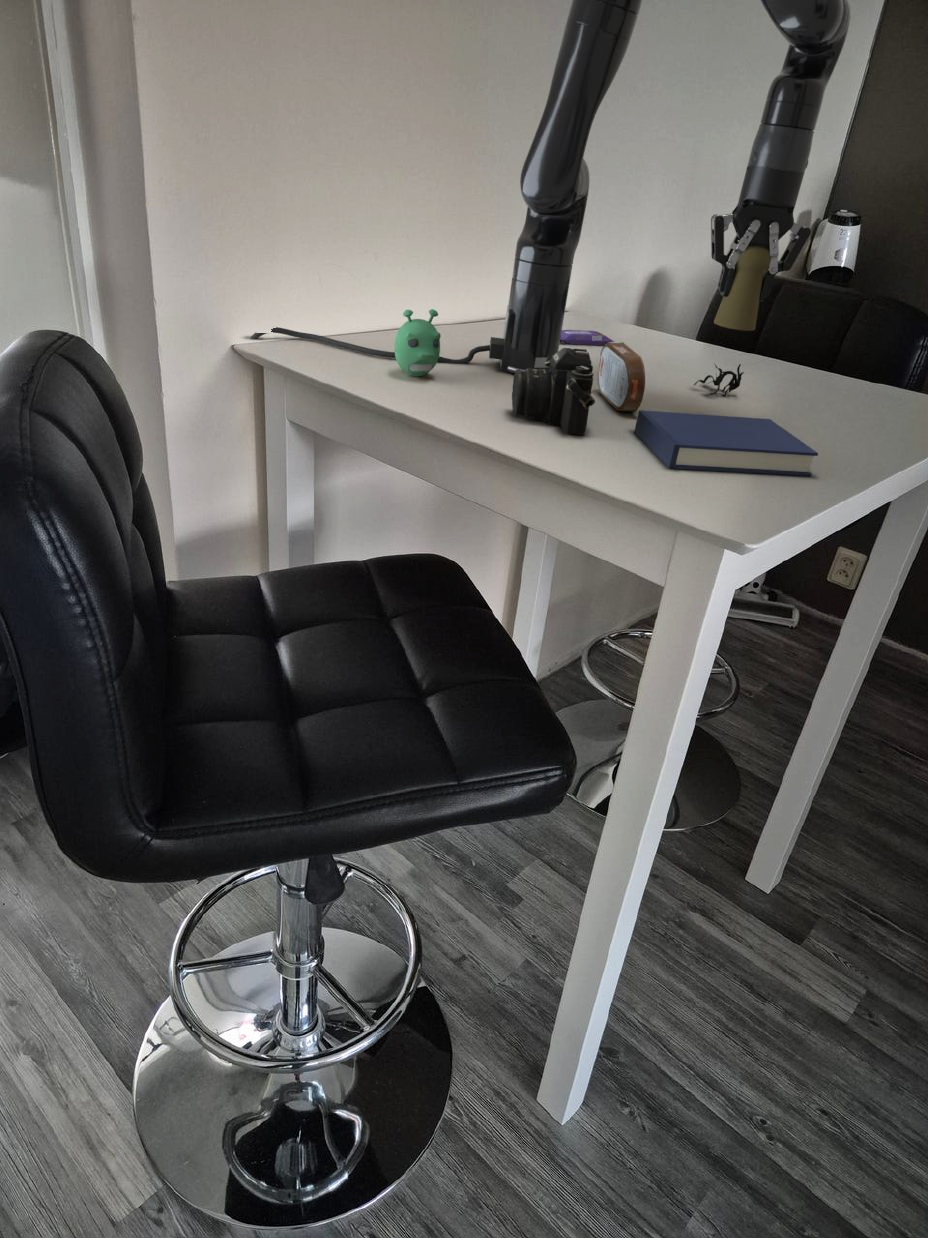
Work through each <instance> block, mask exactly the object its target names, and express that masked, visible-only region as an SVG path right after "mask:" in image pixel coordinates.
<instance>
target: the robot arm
mask: <svg viewBox="0 0 928 1238" xmlns="http://www.w3.org/2000/svg"><path fill="white" fill-rule="evenodd" d="M759 1H760V3H761V5H762V7H763V9H764V10H765V12H766V13H767V15H768V17H769V19H770V20H771V22H772V23H773V24H774V26H775V28H776V29H777V31H778V32H779V33H780V34H781V36H782V37H783V39H784V40H785V41H786V42H787V43H788V44H789V45H788V48H787V52H786V54H785V58H784V61H783V64H782V68H781V71H780V72H779V74H778V75H776V76H775V77H774V78H773V80H772V81H771V84H770V86H769V89H768V91H767V94H766V99H765V102H764V106H763V110H762V113H761V118H760V122H759V125H758V129H757V131H756V134H755V137H754V138H753V142H752V146H751V149H750V153H749V159H748V162H747V165H746V170H745V173H744V178H743V182H742V185H741V189H740V193H739V197H738V201H737V205H736V206H735V208H734V209H733V210H732V211H731V213H726V214H725V213H724V214H717V213H716V214H713V215H712V216H711V218H710V246H711V247H710V251H711V252H710V255H711V259H712V260H714V261H715V262H717V263H719V264H720V265H721V271H720V275H719V280H718V283H717V290H718V291H719V292H720V293H719V295H720V296H721V297H723V296H724V297H728V295H729V292H730V288H731V284H732V281H733V277H734V273H735V270H734V268H735V267H734V266H735V264H736V263H737V261H738V257H739V255H740V254H742V253H744V251H745V250H746V248H747V246H760V247H763V248H767V249H769V254H770V257H771V262H770V265H769V267H768V268H767V269H766V270H765V271H764V272H763V279H762V286H761V292H760V298H759V302H764V301H765V298H768V297H769V296H770V294H771V291H772V287H773V285H774V280H775V277H776V275H777V274H778V273H782V272H788V271H790V270H791V269H792V267H793V266H794V264H795V262H796V260H797V258H798V257H799V255H800V253H801V252H802V249H803V248H804V246H805V244H806V243H807V241H808V239H809V237H810V236H811V234H812V230H811V228H810V227H808V226H805V225H800V224H798V223H796V222H795V217H794V210H795V208H796V204H797V201H798V198H799V195H800V190H801V187H802V183H803V180H804V176H805V173H806V169H808V165H809V158H810V155H811V151H812V145H813V138H814V133H815V130H816V127H817V123H818V119H819V116H820V112H821V109H822V105H823V102H824V101H823V100H824V96H825V91H826V89H827V86H828V84H829V82H830V80H831V77H832V75H833V73H834V71H835V68H836V67H837V64H838V61H839V58H840V55H841V53H842V50H843V48H844V45H845V43H846V39H847V36H848V32H849V28H850V25H851V14H852V13H851V5H850V2H849V0H759ZM642 2H643V0H572V1H571V5H570V8H569V11H568V15H567V17H566V18H567V19H566V22H565V26H564V29H563V34H562V39H561V42H560V46H559V50H558V53H557V58H556V62H555V66H554V69H553V74H552V77H551V83H550V87H549V90H548V91H549V92H548V95H547V99H546V103H545V107H544V109H543V112H542V115H541V118H540V120H539V122H538V126H537V128H536V131H535V134H534V136H533V139H532V142H531V144H530V147H529V150H528V152H527V155H526V157H525V159H524V162H523V165H522V168H521V172H520V177H519V187H520V194H521V197H522V199H523V201H524V203H525V205H526V206H527V208H526V215H525V220H524V225H523V228H522V229H521V230H522V231H521V233H520V234H519V237H518V238H517V240H516V246H515V251H514V252H515V253H514V260H513V268H512V274H511V283H510V290H509V299H508V304H507V306H506V313H505V322H504V329H503V336H502V337H493V336H490V340H489V341H490V342H489V344H488V345H487V344H486V345H480V346H479V345H478V346H476V347H473V348H471V350H470V351H469V352H468V354H467V356H466V357H464V358H460V359H453V358H448V357H443V356H440V355H439V358H438V361H437V363H440V364H441V363H442V364H455V365H465V364H468V363H470V362H472V361H473V359H474V357H475V355H477V354H478V353H482V352H488V359H491V360H492V359H493V360H499V367H500V369H499V370H500V371H501V372H507V373H511V374H513V375H515V372H516V370H517V369H520V370H521V371H523V372H524V371H525V370H526V369H527V368H530V369H545V370H548V371H549V367H548V366H546V365H545V363H544V362H545V361H546V360H547V357H548V356H549V357H552V356H553V355H554V354H555V353H557V352H558V351H560V343H561V339H560V338H561V332H562V330H563V325H564V319H565V313H566V308H567V307H566V306H567V300H568V295H569V289H570V288H569V287H570V284H571V283H570V282H571V278H572V277H571V276H572V270H573V264H574V259H575V254H576V252H577V248H578V246H579V242H580V239H581V234H582V229H583V224H584V219H585V213H586V209H587V202H588V198H589V191H590V181H591V179H590V171H589V166H588V164H587V162H586V160H585V158H584V156H585V151H586V147H587V143H588V140H589V136H590V132H591V129H592V126H593V123H594V120H595V118H596V114H597V113H598V110H599V109H600V106H601V104H602V102H603V101H604V99H605V96H606V95H607V93H608V92H609V89H610V87H611V86H612V84H613V82H614V79H615V78H616V75H617V74H618V72H619V70H620V68H621V65H622V63H623V61H624V59H625V56H626V53H627V50H628V48H629V46H630V43H631V42H630V41H631V39H632V36H633V33H634V29H635V26H636V24H637V21H638V17H639V15H640V10H641V6H642ZM731 223H732V226H733V228H734V232H735V234H736V235H735V236H734V238H733V239H732V242H731V243H730V245H729V249H728V250H727V252H726V254H725V232H727V231H728V229H729V228H730V227H729V226H730V224H731ZM788 232H789V236H788V237H789V240H790V241H789V243H788V245H787V246H786V248H785V250H784V252H783V253H782V255H781V257H780V259H779V252H780V250H779V249H780V247H779V241H780V240H781V239H782V238H783V237H784V236H785V235H786V234H787V233H788ZM275 327H276V328H273V329H271V330H272V331H271V332H273V333H272V334H282V335H286V336H289V337H292V338H293V337H294V338H297V339H304V340H311V341H316V342H321V343H324V344H328V345H331V346H335V347H338V348H342V349H347V350H349V351H354V352H357V353H362V354H366V355H370V356H375V357H382V358H388V359H389V358H390V359H396V357H395V351H387V350H379V349H374V348H369V347H365V346H362V345H357V344H353V343H350V342H346V341H341V340H337V339H333V338H330V337H326V336H323V335H319V334H314V333H308V332H302V331H297V330H293V329H289V328H283V327H279V326H275ZM267 334H268V333H256V332H254V333H253V334H252V335H251V336H250V337H249V340H257V339H258V338H259V339H260V337H262V336H264V335H267Z"/></svg>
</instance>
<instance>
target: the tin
mask: <svg viewBox="0 0 928 1238" xmlns="http://www.w3.org/2000/svg"><path fill="white" fill-rule="evenodd" d="M599 355H600V357H599V364H598V372H597V385H598V389H599V392H600V394H601V396H602V397H603V398H604V399H605V400H606V401H607V402H608V403H609V404H610V405H611V406H612V407H613V408H614V409H615V410H616V411H618V412H631V413H635V412H637V411H639V410H640V407H641V405H642V402H643V400H644V395H645V390H646V367H645V364H644V361H643V359H642V356H641V355H640V354H638V353H637V352H636V351H634V350H633V349H632V348H631V347H629V345H627V344H626V343H625V342H623V341H622V342H621V341H620V342H609V343H607V344H605V345H603V346H602V348H601V351H600V354H599Z"/></svg>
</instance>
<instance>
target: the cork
mask: <svg viewBox="0 0 928 1238" xmlns="http://www.w3.org/2000/svg"><path fill="white" fill-rule="evenodd" d="M770 262H771V257H770V254H769V249H767V248H763V247H760V246H747V248H746V250H745V251H744V253H742V254H740V255H739V257H738V261H737V263H736V264H735V266H734V270H735V273H734V277H733V281H732V284H731V288H730V292H729V295H728V297H724V296H722V299H721V301H720V305H719V308H718V310H717V312H716V315H715V317H714V319H713V324H714V325H717V326H720V327H722V328H726V329H731V330H736V331H744V332H745V331H746V332H749V331H751V332H752V331H756V324H757V321H758V320H757V319H758V312H759V305H760V301H759V298H760V292H761V286H762V279H763V272H764V271H765V270H766V269H767V268H768V267H769V265H770Z"/></svg>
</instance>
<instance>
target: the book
mask: <svg viewBox="0 0 928 1238" xmlns="http://www.w3.org/2000/svg"><path fill="white" fill-rule="evenodd" d="M633 433H634V434H635V435H636V436H637V437H638V438H639V440H641V441H642V442H643V444H645V445H646V446H647V447H648V448H649V449H650V451H652V453H653V454H654V455H655V456H656V457H657V458H658V459H659V460H660V461H661V462H662V463H663V464H664V465H665V466H666V467H667V468H668V469H673V470H675V469H676V470H691V471H692V470H693V471H710V472H727V473H744V474H745V473H748V474H763V475H764V474H765V475H782V476H799V477H800V476H802V477H803V476H804V477H811V476H812V474H813V473H811V472H810V469H811V466H812V462H813V460H814V457H818V455H819V453H818V451H816V450H815V449H813V448H812V447H810V446H809V445H807V444H806V443H804V442H803V441H801V440H800V439H799V438H798V437H796V436H795V435H793V434H792V433H791V432H789V431H788V430H787V429H785V428H784V427H782V426H781V425H779V424H778V423H776V422H775V421H774V420H772V419H771V418H762V417H761V418H758V417H745V416H744V417H743V416H732V415H716V414H700V413H686V412H672V411H658V410H657V411H656V410H645V409H644V410H643V409H638V412H637V418H636V422H635V426H634V430H633Z"/></svg>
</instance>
